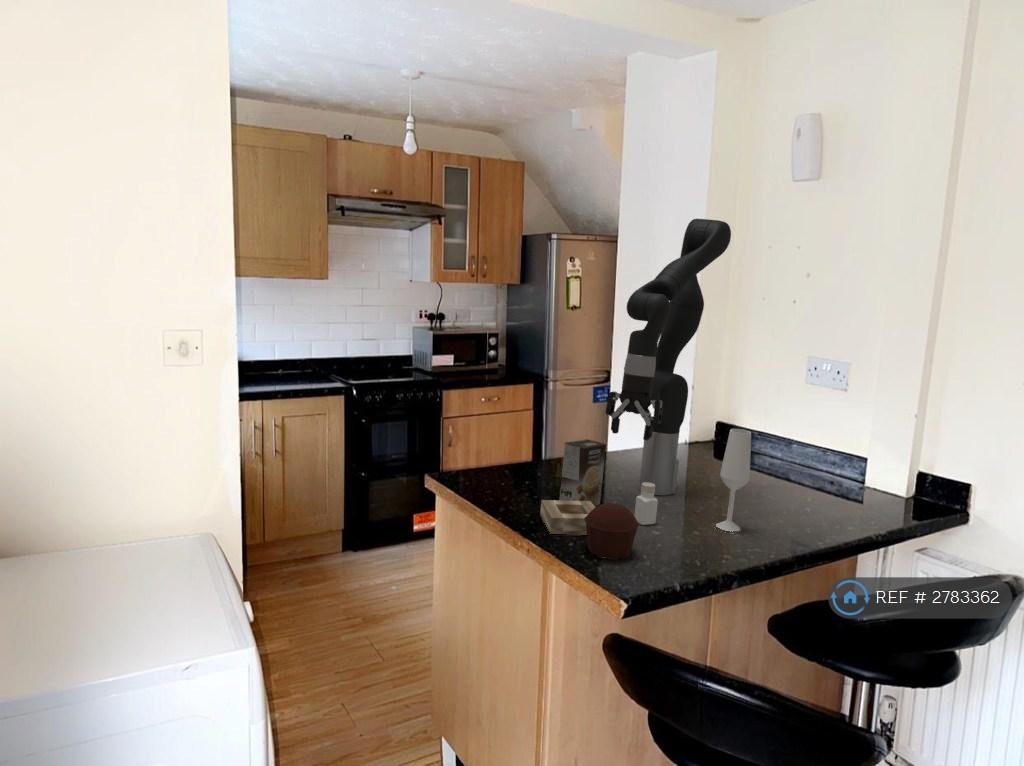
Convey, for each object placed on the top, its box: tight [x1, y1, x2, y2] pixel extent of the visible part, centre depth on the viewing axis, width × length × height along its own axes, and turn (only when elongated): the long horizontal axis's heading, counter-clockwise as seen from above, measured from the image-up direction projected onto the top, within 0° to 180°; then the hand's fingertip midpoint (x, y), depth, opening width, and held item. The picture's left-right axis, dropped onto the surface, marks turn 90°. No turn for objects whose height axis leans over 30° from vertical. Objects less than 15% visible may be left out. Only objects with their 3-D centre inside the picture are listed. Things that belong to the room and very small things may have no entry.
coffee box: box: [558, 438, 607, 507], centre depth 176 cm, size 9×6×16 cm
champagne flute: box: [715, 428, 752, 532], centre depth 166 cm, size 7×7×24 cm
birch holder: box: [539, 499, 596, 536], centre depth 161 cm, size 12×12×4 cm
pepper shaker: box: [633, 482, 659, 526], centre depth 166 cm, size 4×4×10 cm
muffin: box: [584, 502, 640, 560], centre depth 147 cm, size 12×11×10 cm
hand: (630, 436), depth 176 cm, fingers open, 8 cm apart
